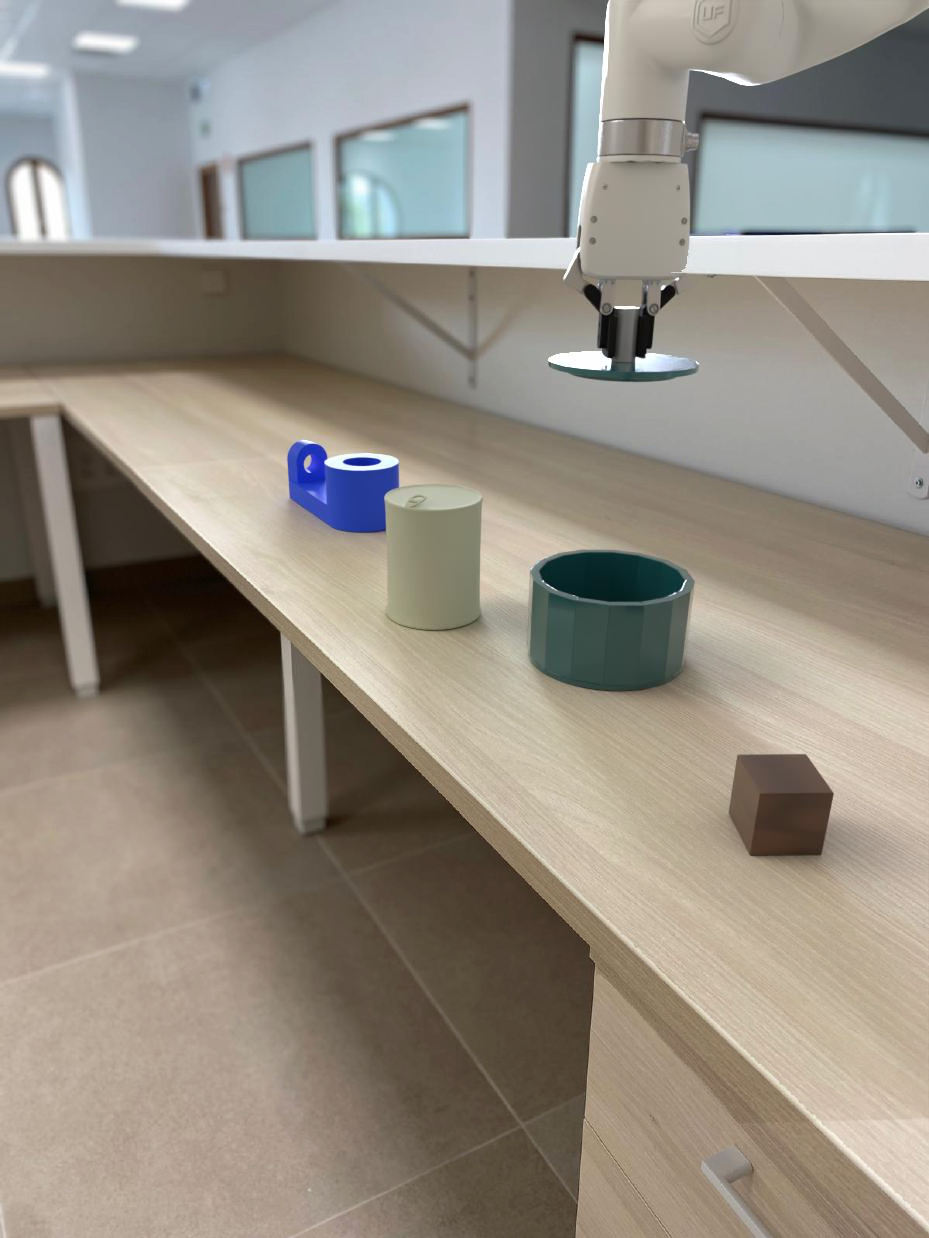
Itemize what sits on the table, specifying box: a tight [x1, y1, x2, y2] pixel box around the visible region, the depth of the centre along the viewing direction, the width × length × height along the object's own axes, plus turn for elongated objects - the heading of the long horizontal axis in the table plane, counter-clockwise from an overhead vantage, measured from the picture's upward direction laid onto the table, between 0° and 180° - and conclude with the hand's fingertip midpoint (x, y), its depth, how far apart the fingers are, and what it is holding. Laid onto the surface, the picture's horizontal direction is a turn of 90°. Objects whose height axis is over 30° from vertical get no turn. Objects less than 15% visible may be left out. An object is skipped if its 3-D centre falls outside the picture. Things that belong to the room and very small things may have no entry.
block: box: [728, 753, 835, 856], centre depth 57 cm, size 4×4×4 cm
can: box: [384, 483, 484, 631], centre depth 88 cm, size 9×9×12 cm
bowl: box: [526, 549, 696, 692], centre depth 80 cm, size 14×14×8 cm
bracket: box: [286, 439, 400, 533], centre depth 119 cm, size 20×9×8 cm, turn 38°
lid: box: [547, 306, 700, 383], centre depth 90 cm, size 15×15×6 cm
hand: (623, 355), depth 91 cm, fingers closed on lid, 2 cm apart
